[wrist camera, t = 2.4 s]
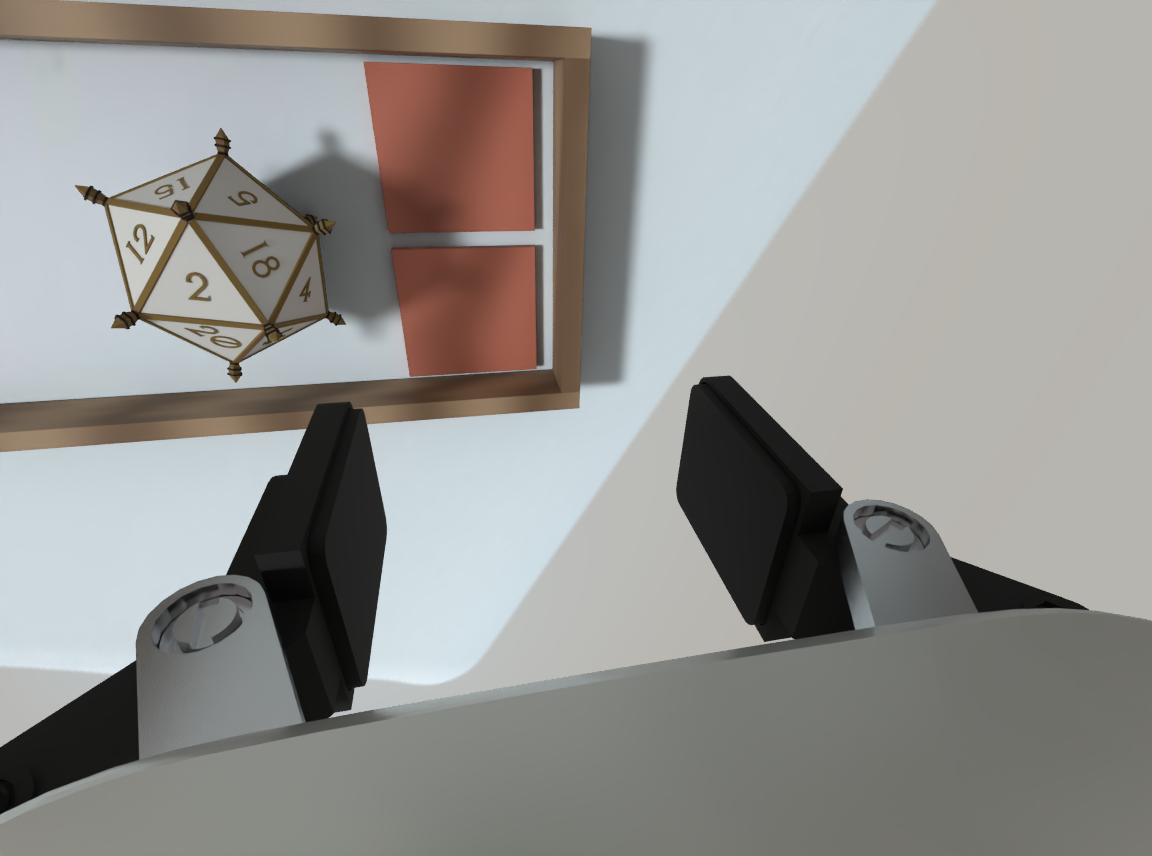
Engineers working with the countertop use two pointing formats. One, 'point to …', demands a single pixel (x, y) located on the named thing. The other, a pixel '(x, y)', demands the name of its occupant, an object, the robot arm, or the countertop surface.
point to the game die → (217, 258)
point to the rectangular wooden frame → (412, 203)
